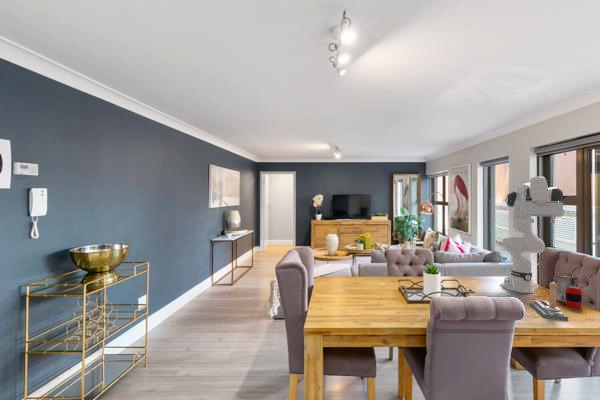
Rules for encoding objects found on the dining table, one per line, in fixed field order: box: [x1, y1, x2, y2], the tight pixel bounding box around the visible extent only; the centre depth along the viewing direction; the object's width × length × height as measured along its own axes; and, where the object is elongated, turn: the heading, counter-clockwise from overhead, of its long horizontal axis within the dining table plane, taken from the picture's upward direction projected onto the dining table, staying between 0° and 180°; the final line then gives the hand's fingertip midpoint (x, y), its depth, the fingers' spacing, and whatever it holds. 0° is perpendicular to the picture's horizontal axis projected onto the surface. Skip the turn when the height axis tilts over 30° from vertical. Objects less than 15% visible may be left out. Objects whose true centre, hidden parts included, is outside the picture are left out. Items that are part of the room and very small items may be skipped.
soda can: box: [564, 286, 583, 309], centre depth 196 cm, size 8×8×12 cm
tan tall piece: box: [544, 281, 562, 312], centre depth 179 cm, size 5×6×17 cm
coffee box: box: [556, 275, 579, 303], centre depth 206 cm, size 9×6×16 cm
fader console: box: [529, 299, 569, 321], centre depth 185 cm, size 22×11×4 cm, turn 161°
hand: (542, 222), depth 177 cm, fingers open, 8 cm apart
